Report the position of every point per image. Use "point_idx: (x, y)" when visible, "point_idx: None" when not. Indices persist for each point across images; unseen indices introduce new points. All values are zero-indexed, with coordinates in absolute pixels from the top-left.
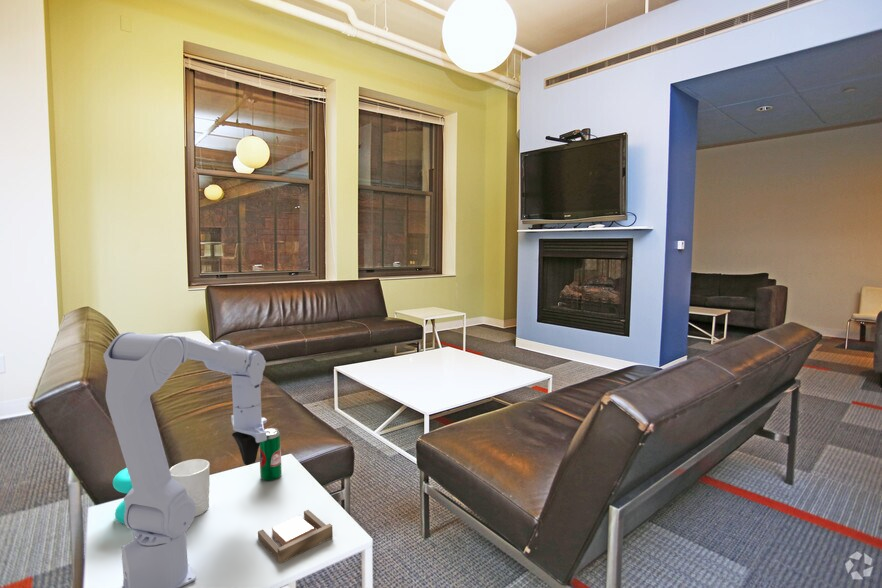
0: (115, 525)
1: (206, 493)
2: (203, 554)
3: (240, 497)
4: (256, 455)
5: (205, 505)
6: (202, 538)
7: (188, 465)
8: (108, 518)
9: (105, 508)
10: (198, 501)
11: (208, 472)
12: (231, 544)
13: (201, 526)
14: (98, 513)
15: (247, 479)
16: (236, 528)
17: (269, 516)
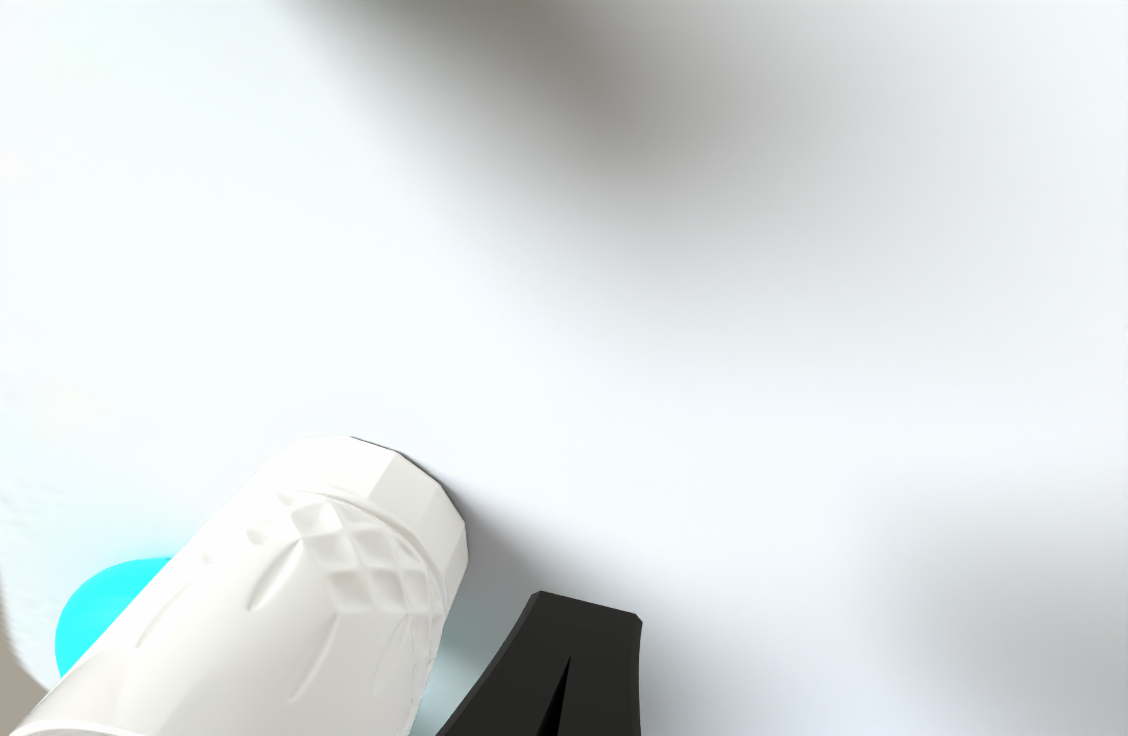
0: None
1: (391, 585)
2: (925, 727)
3: (437, 245)
4: (636, 720)
5: (432, 523)
6: (756, 652)
7: (47, 731)
8: None
9: None
10: (435, 623)
11: (285, 720)
12: (1013, 622)
13: (615, 590)
14: None
15: (129, 5)
16: (864, 510)
17: (988, 278)
